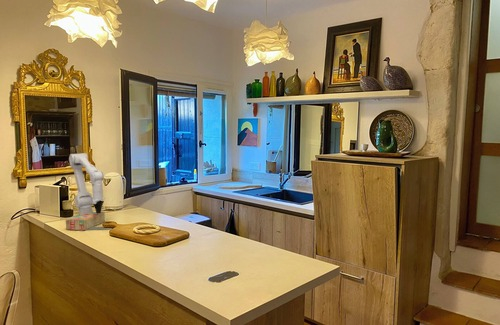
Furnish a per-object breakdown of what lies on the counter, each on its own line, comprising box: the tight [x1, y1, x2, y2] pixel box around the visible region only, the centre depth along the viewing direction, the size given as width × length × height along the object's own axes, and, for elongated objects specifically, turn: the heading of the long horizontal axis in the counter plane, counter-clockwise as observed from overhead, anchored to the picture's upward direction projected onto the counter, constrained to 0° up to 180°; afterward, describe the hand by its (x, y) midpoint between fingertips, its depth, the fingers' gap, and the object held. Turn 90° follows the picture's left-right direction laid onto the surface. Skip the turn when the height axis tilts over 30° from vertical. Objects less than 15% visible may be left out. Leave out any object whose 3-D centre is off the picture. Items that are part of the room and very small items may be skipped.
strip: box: [76, 226, 113, 232], centre depth 220 cm, size 6×20×1 cm, turn 95°
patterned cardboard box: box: [65, 211, 106, 231], centre depth 226 cm, size 21×6×12 cm
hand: (98, 213), depth 226 cm, fingers closed
